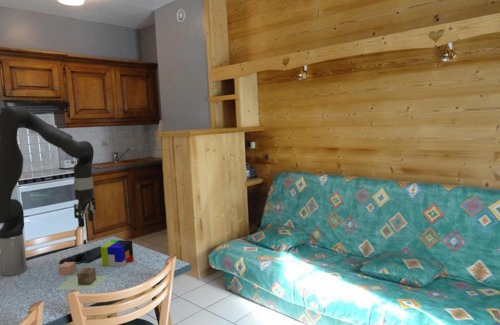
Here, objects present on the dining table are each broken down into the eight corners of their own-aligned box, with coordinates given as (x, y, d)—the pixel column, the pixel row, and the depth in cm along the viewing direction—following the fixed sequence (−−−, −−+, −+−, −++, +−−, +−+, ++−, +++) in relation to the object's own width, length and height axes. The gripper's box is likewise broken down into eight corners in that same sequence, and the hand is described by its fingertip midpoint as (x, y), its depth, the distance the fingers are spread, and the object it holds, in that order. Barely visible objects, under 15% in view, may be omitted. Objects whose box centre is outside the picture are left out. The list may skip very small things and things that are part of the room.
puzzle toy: (122, 269, 161) (120, 248, 160) (102, 268, 163) (100, 247, 162) (133, 260, 171) (132, 240, 169) (114, 259, 173) (113, 239, 171)
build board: (55, 292, 141) (55, 289, 141) (72, 278, 153) (71, 276, 152) (94, 291, 140) (94, 288, 140) (108, 278, 152) (108, 275, 152)
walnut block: (78, 285, 144) (77, 273, 143) (84, 279, 149) (83, 268, 148) (90, 284, 143) (89, 273, 143) (96, 279, 148) (95, 267, 148)
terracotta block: (59, 277, 154) (58, 266, 154) (65, 272, 159) (64, 262, 159) (70, 277, 154) (69, 266, 154) (76, 272, 159) (75, 261, 158)
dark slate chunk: (114, 254, 181) (113, 245, 181) (74, 270, 163) (73, 260, 162) (95, 249, 189) (94, 240, 189) (54, 264, 170) (53, 255, 170)
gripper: (83, 184, 161) (86, 219, 163) (66, 190, 147) (69, 228, 149) (100, 184, 161) (102, 219, 163) (84, 190, 147) (86, 228, 149)
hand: (86, 223), depth 156 cm, fingers open, 8 cm apart
